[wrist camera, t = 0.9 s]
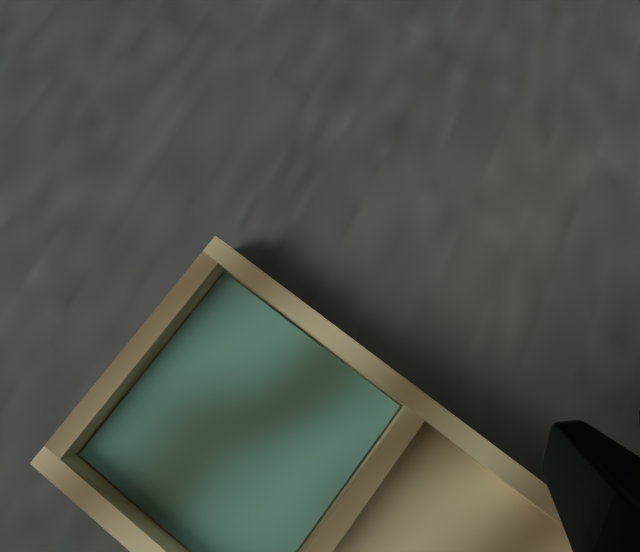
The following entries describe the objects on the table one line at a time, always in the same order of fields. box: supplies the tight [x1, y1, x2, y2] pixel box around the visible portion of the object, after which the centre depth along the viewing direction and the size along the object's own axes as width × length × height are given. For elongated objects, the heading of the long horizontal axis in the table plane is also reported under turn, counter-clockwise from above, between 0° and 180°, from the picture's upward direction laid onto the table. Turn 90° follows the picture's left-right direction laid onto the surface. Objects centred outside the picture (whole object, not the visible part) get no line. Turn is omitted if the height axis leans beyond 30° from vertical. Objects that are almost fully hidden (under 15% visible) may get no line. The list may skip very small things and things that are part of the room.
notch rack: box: [30, 236, 573, 552], centre depth 21 cm, size 21×11×2 cm, turn 53°
